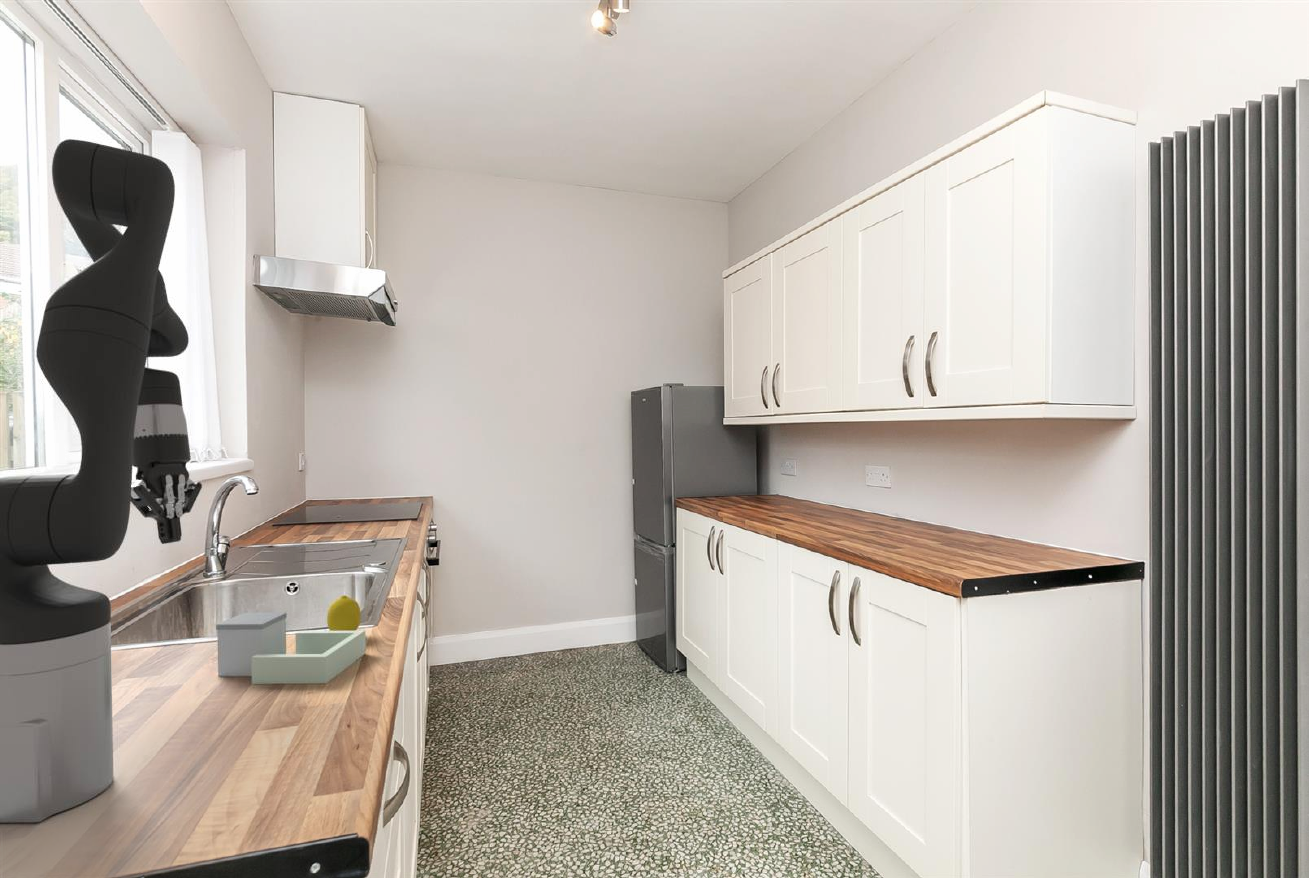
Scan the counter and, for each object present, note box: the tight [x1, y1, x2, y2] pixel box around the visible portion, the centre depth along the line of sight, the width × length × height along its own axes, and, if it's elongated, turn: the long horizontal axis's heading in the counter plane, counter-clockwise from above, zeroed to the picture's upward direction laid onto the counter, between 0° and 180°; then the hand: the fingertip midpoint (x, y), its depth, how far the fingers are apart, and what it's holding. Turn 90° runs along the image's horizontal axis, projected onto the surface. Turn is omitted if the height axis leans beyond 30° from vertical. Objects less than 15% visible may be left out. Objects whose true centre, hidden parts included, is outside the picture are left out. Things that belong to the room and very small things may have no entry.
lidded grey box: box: [215, 612, 287, 677], centre depth 99 cm, size 6×7×8 cm
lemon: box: [326, 595, 362, 631], centre depth 113 cm, size 6×6×8 cm
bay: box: [251, 630, 366, 685], centre depth 99 cm, size 12×11×4 cm
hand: (171, 542), depth 99 cm, fingers closed
